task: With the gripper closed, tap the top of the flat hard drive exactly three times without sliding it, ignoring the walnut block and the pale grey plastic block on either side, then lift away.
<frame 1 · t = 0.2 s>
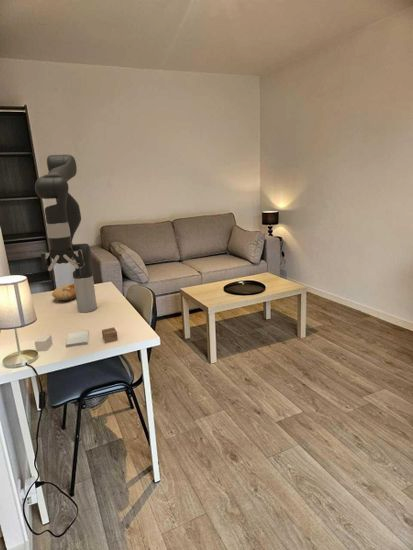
hand: (65, 279, 134), 28 cm above the table, tool pointing down, fingers open, 8 cm apart
grey plastic block: (44, 347, 142), on the table
tan rounded lump: (73, 298, 201), on the table
walnut block: (110, 339, 147), on the table
hard drive: (78, 341, 148), on the table
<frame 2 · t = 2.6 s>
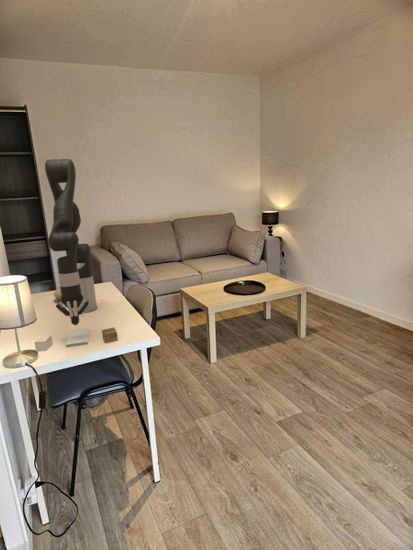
hand: (75, 324, 146), 7 cm above the table, tool pointing down, fingers closed
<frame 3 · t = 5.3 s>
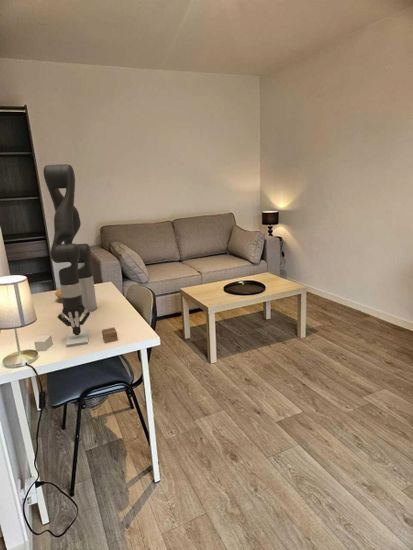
hand: (77, 334, 147), 2 cm above the table, tool pointing down, fingers closed
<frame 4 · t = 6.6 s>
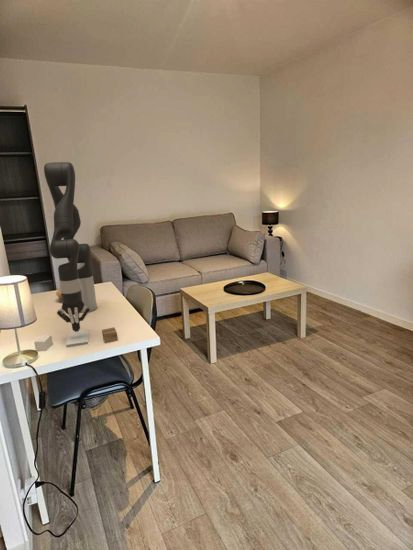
hand: (76, 330, 147), 4 cm above the table, tool pointing down, fingers closed
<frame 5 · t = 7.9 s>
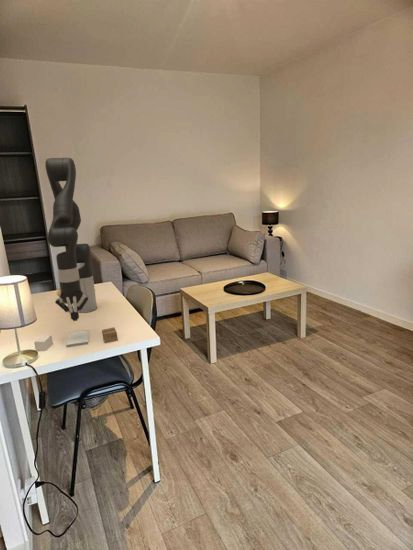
hand: (75, 320, 146), 8 cm above the table, tool pointing down, fingers closed
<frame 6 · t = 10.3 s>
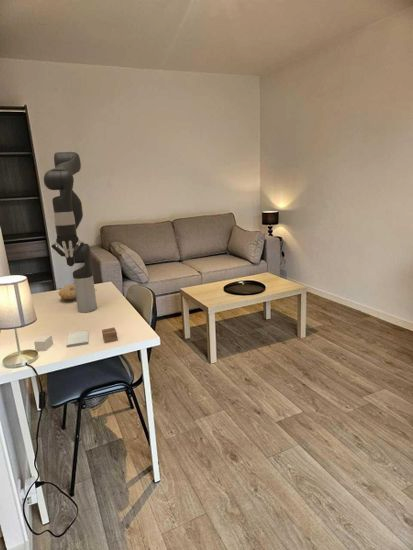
hand: (71, 265, 148), 29 cm above the table, tool pointing down, fingers closed
at the end: hard drive moved 0.8 cm from its start; the gripper is holding nothing; walnut block moved 0.2 cm from its start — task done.
